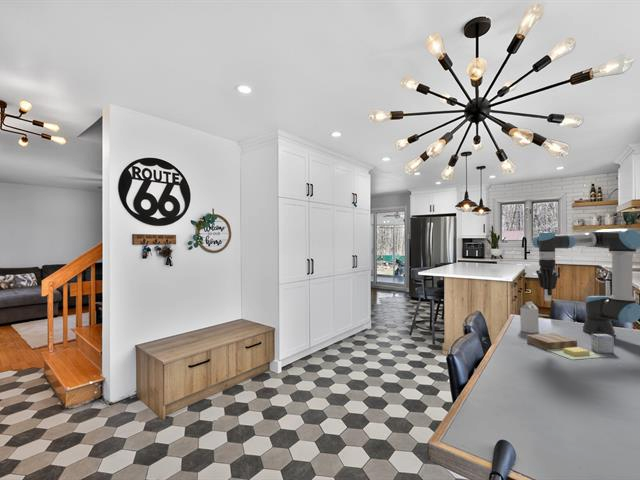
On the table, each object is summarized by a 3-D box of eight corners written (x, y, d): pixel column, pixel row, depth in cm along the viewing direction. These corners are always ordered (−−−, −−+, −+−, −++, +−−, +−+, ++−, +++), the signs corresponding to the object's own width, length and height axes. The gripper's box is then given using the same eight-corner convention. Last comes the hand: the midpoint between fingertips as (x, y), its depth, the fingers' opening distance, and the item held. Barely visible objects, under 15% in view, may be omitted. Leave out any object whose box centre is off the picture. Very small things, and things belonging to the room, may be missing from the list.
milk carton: (520, 330, 203) (520, 301, 203) (527, 329, 206) (526, 300, 206) (531, 333, 197) (531, 303, 197) (538, 332, 200) (538, 302, 200)
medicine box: (607, 350, 166) (606, 333, 166) (614, 353, 161) (613, 336, 161) (591, 349, 167) (590, 333, 167) (597, 352, 162) (597, 336, 162)
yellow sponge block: (589, 350, 159) (589, 354, 159) (578, 346, 165) (578, 350, 165) (574, 352, 157) (574, 356, 157) (563, 348, 163) (563, 351, 163)
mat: (578, 347, 170) (578, 347, 170) (606, 357, 156) (606, 356, 156) (546, 350, 167) (546, 349, 167) (571, 360, 153) (571, 359, 153)
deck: (554, 340, 184) (553, 333, 184) (577, 347, 170) (577, 340, 170) (527, 341, 181) (526, 335, 181) (548, 350, 167) (548, 342, 167)
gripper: (531, 258, 183) (532, 299, 183) (551, 259, 170) (552, 303, 170) (542, 258, 184) (543, 298, 184) (563, 259, 172) (564, 302, 171)
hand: (547, 300), depth 177 cm, fingers closed
